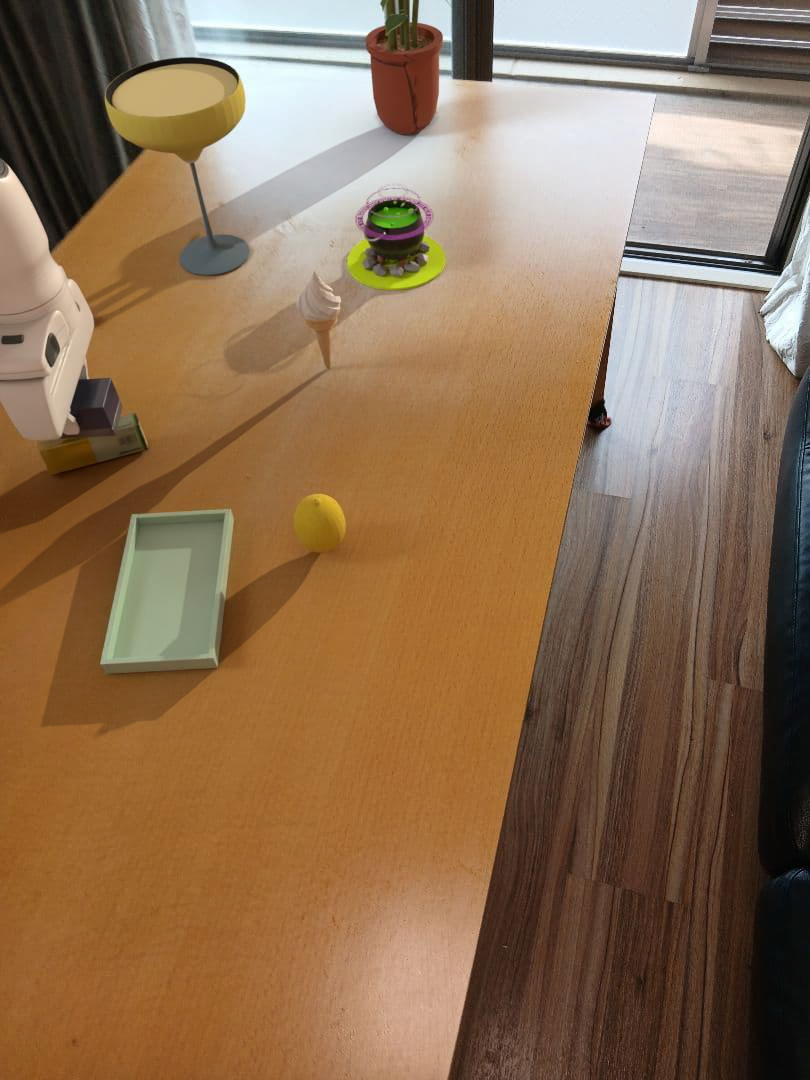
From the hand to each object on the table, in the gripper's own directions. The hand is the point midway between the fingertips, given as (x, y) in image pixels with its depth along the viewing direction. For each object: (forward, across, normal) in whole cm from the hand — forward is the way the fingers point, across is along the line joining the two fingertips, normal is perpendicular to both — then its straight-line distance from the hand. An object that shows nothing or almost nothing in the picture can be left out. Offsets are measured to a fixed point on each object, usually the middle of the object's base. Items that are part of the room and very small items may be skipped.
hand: (79, 411), depth 94 cm
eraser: (+2, 0, 0) cm, 2 cm away
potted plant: (+8, -78, +43) cm, 89 cm away
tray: (+8, +21, +12) cm, 25 cm away
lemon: (+8, +16, +28) cm, 33 cm away
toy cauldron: (+8, -38, +38) cm, 54 cm away
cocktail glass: (+8, -42, +10) cm, 44 cm away
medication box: (+8, 0, 0) cm, 8 cm away
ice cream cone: (+8, -14, +28) cm, 32 cm away
